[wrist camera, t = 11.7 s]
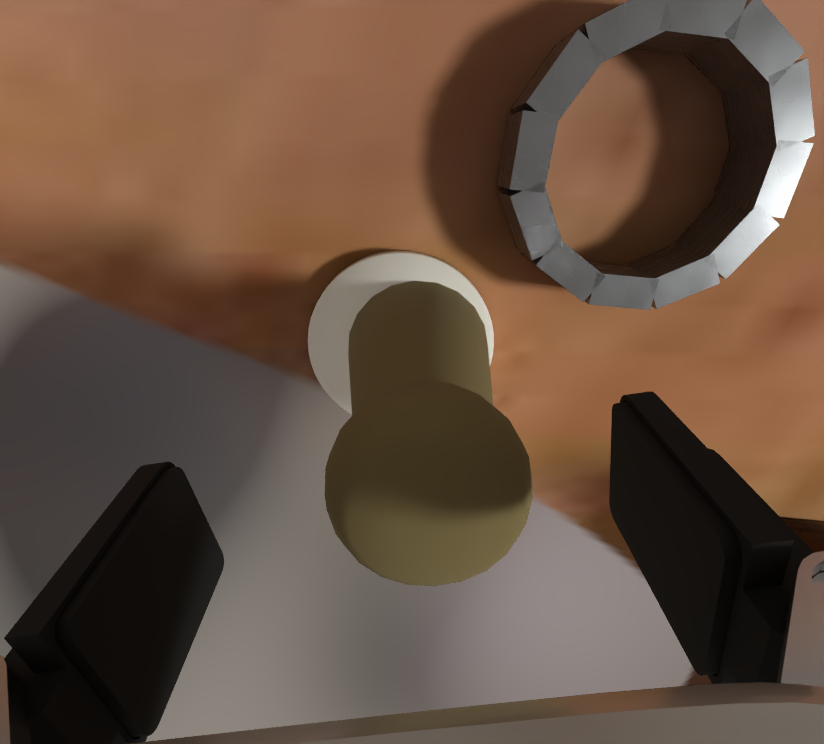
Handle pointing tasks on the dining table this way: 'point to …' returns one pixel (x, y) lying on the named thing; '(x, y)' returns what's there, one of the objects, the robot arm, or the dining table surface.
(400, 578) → the cork
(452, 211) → the dining table surface
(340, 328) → the pebble
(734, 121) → the holder ring
